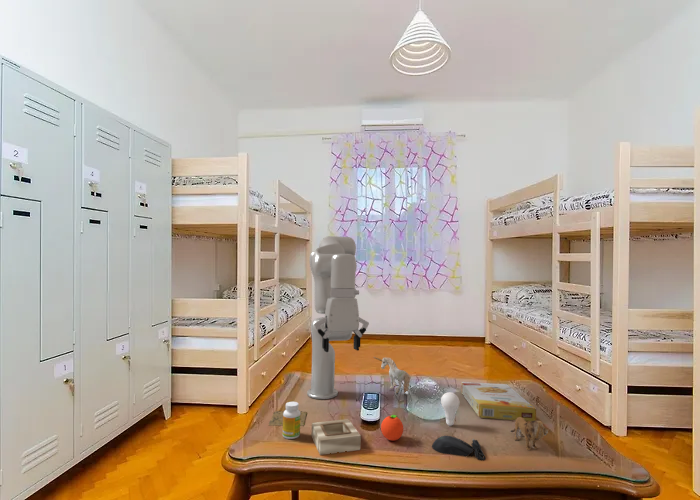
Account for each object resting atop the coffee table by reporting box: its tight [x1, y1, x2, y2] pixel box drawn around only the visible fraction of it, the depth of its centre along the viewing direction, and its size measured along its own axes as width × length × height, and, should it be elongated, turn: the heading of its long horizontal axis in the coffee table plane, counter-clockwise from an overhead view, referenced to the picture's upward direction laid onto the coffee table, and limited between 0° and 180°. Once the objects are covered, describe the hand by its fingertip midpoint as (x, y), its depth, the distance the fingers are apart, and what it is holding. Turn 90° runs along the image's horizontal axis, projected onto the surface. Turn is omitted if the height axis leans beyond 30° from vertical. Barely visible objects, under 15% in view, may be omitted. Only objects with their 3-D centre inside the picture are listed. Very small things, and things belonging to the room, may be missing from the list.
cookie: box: [268, 410, 308, 427], centre depth 127 cm, size 12×12×1 cm
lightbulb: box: [440, 391, 461, 427], centre depth 125 cm, size 6×6×11 cm
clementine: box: [380, 414, 404, 441], centre depth 114 cm, size 8×7×7 cm
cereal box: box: [460, 381, 537, 422], centre depth 144 cm, size 20×6×28 cm
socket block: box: [310, 418, 362, 456], centre depth 110 cm, size 12×12×4 cm
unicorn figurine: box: [373, 356, 411, 394], centre depth 159 cm, size 7×20×13 cm, turn 45°
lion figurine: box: [510, 417, 549, 451], centre depth 113 cm, size 15×5×9 cm, turn 13°
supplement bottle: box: [282, 401, 301, 440], centre depth 114 cm, size 5×5×10 cm
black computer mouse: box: [431, 435, 486, 461], centre depth 108 cm, size 10×15×4 cm
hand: (341, 350), depth 112 cm, fingers open, 9 cm apart
